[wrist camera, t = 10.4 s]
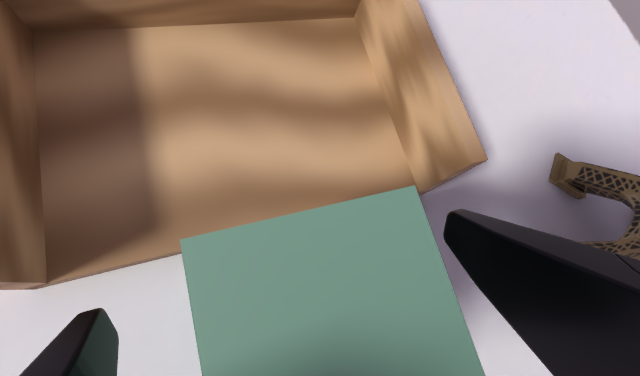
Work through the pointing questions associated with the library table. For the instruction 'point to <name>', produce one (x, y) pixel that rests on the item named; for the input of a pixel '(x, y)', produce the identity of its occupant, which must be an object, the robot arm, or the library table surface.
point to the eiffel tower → (606, 184)
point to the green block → (328, 295)
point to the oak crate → (207, 121)
